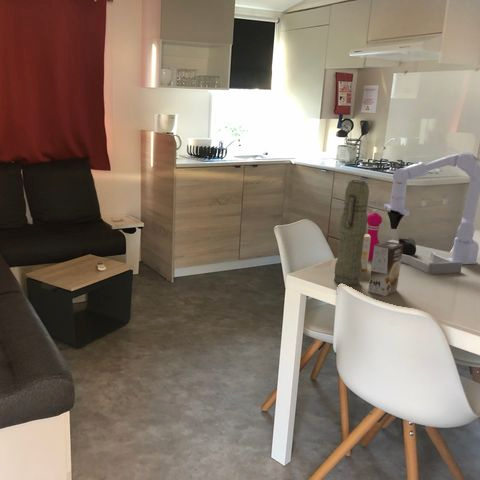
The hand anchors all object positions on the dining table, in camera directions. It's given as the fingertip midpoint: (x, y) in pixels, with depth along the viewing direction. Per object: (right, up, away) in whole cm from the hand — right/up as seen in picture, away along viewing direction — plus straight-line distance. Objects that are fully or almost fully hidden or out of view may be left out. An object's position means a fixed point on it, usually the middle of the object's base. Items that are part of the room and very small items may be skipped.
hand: (393, 228), depth 229 cm
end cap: (+4, -12, -5) cm, 13 cm away
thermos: (-28, -19, -42) cm, 55 cm away
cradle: (+9, -15, -18) cm, 25 cm away
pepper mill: (-13, -12, -11) cm, 21 cm away
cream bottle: (-22, -16, -26) cm, 38 cm away
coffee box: (-18, -22, -50) cm, 57 cm away
